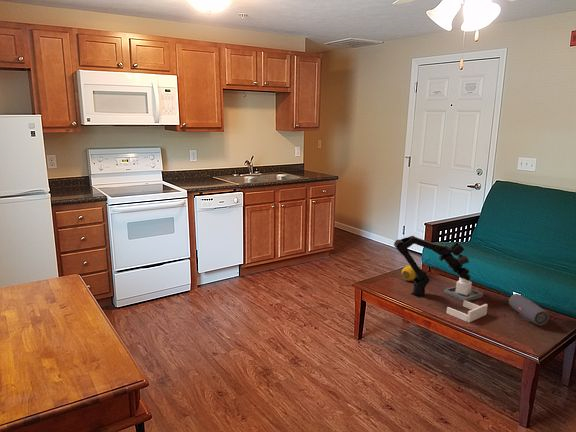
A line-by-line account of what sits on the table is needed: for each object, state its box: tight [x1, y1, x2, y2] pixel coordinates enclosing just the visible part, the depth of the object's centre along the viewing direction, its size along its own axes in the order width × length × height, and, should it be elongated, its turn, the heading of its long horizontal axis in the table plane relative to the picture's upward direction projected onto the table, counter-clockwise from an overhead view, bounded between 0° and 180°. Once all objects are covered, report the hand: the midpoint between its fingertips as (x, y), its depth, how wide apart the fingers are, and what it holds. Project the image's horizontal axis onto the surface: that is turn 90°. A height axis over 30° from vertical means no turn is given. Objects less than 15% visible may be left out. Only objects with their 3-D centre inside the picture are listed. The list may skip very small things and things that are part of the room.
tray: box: [443, 285, 484, 302], centre depth 267 cm, size 16×16×2 cm
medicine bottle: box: [455, 273, 473, 296], centre depth 265 cm, size 7×7×12 cm
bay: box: [446, 300, 489, 323], centre depth 241 cm, size 14×17×6 cm
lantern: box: [398, 264, 425, 282], centre depth 291 cm, size 10×10×30 cm
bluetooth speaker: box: [508, 293, 550, 326], centre depth 236 cm, size 23×9×10 cm, turn 5°
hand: (466, 278), depth 265 cm, fingers closed on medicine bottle, 6 cm apart
